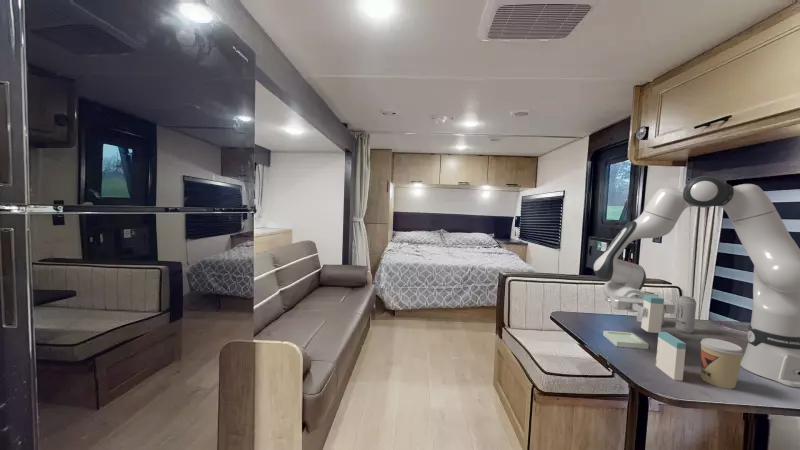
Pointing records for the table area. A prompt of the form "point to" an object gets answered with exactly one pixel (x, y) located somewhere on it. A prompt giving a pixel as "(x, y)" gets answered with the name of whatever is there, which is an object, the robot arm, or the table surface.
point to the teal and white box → (670, 355)
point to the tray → (625, 339)
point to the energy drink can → (685, 314)
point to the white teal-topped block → (652, 313)
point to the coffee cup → (720, 362)
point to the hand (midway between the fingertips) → (654, 311)
